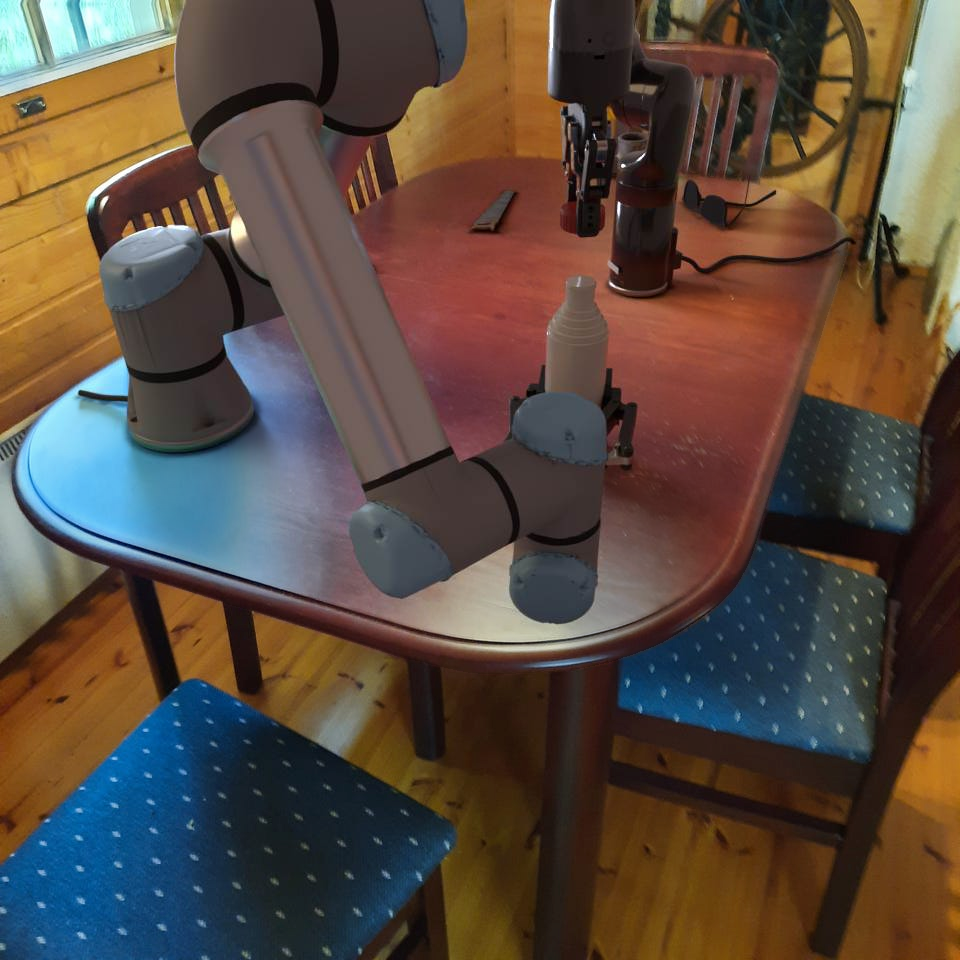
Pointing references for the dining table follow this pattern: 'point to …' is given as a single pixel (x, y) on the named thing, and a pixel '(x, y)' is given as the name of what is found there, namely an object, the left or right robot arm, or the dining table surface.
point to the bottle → (578, 344)
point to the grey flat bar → (493, 213)
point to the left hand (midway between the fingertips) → (576, 376)
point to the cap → (570, 217)
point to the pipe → (629, 146)
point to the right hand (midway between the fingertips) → (582, 226)
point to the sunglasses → (714, 204)
